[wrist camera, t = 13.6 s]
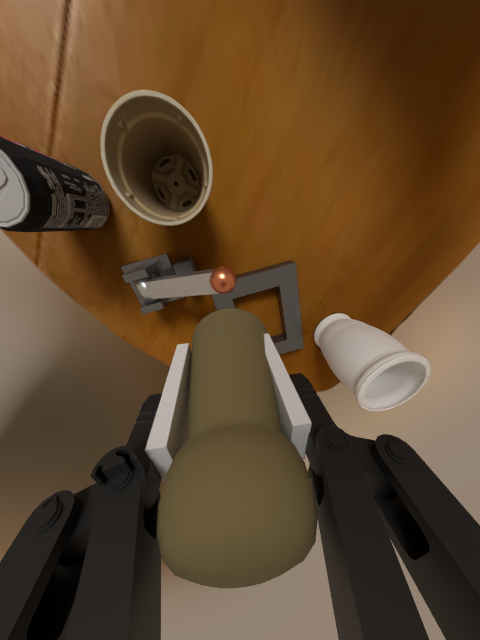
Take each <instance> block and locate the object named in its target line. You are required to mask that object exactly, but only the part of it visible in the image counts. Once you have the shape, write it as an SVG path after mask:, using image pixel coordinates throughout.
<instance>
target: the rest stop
mask: <svg viewBox="0 0 480 640" xmlns="http://www.w3.org/2000/svg"><path fill="white" fill-rule="evenodd" d="M173 268H174V270H175V272H176V275H177V274H183V273H190V272H196V268H195V265H194V262H193V260H192V258H188V259H185V260H181V261H178V262H176V263H175V264H174V265H173Z"/></svg>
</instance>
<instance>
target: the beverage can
mask: <svg viewBox="0 0 480 640" xmlns="http://www.w3.org/2000/svg"><path fill="white" fill-rule="evenodd" d="M108 215H109V204H108V200H107V196H106V194H105V193H104V191H103V189H102V188H101V186H100V184H99V183H98V182H97V181H96V180H94V179H93V178H92V177H91V176H90V175H89V174H87V173H85V172H84V171H82V170H80V169H78V168H75V167H73V166H71V165H68V164H66V163H64V162H61V161H59V160H57V159H54V158H52V157H50V156H47V155H45V154H42V153H40V152H38V151H35V150H33V149H31V148H28V147H26V146H24V145H21V144H19V143H17V142H14V141H12V140H9V139H7V138H5V137H2V136H0V228H1V229H4V230H7V231H16V232H45V231H76V230H94V229H97V228H99V227H102V226H103V224H104V223H105V222H106V221H107V219H108Z"/></svg>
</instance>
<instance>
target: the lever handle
mask: <svg viewBox="0 0 480 640" xmlns="http://www.w3.org/2000/svg"><path fill="white" fill-rule="evenodd" d="M133 282H134V284H135V286H136V288H137V289H138V291H139V293H140V295H141V297H142V299H143V301H144V302H145V303H151V302H154V301H156V300H158V299H160V298H171V297H183V296H195V295H207V294H219V293H220V294H227V293H229V292H231V291H232V290H233V289H234V288H235V286H236V282H237V278H236V275H235V273H234V271H233V270H232V269H230V268H229V267H226V266H220V267H217V268H215V269H209V270H203V271H196V272H190V273H183V274H177V275H170V276H164V277H157V278H152V276H151V275H150V276H149V277H146V278H142V279H138V280H135V281H133Z"/></svg>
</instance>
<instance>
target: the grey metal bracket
mask: <svg viewBox="0 0 480 640" xmlns="http://www.w3.org/2000/svg"><path fill="white" fill-rule="evenodd" d="M121 269H122V270H123V272H124V274H123V275H122V277H123V279H124V281H125V282H126V283H128V282H129V283H130V285H131V287H132V289H133V290H134V292H135V294H136V296H137V298H138V299H139V301H140V303H141V305H142V306H141V307H140V309H141V311H142V313H143V314H146V313H149V312H153V311H156V310H160V309H164V308H165V306H166V304H167V303H168V302H169V301H173V300H177V299H180V298H184V297H185V296H183V297H171V298H160V299H158V300H156V301H154V302H151V303H145V302H144V301H143V299H142V297H141V295H140V293H139V291H138V289H137V288H136V286H135V284H134V282H133V281H135V280H138V279H142V278H146V277H149V276H150V275H151V276H152V278H157V277H164V276H170V275H176V272H175V270H174V268H173V265H172V262H171V260H170V258H169V255H168V253H167V254H163V255H159V256H156V257H152V258H149V259H145V260H141V261H138V262H134V263H131V264H127V265H123V266H121Z"/></svg>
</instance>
